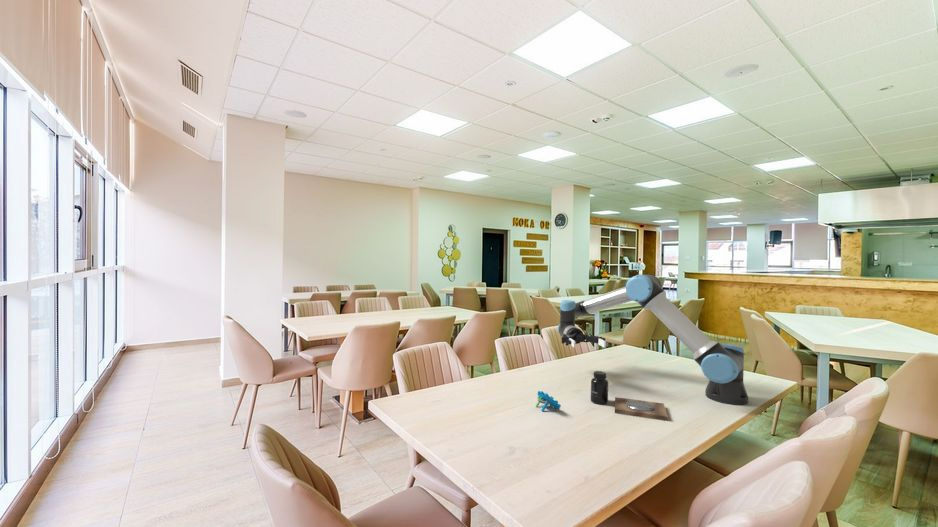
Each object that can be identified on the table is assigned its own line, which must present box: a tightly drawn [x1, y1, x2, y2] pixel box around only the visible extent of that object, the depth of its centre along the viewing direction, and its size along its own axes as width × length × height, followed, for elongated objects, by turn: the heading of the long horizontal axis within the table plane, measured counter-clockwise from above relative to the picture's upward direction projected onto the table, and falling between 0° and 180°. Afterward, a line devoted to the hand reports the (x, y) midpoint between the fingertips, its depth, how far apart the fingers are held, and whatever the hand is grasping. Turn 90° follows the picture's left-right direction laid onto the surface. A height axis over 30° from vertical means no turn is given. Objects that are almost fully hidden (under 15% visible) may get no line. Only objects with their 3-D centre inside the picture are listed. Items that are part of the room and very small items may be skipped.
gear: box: [535, 390, 561, 412], centre depth 148 cm, size 11×6×10 cm
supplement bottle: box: [590, 370, 609, 406], centre depth 157 cm, size 7×7×12 cm
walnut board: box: [614, 396, 669, 422], centre depth 149 cm, size 18×14×2 cm
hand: (590, 344), depth 167 cm, fingers open, 13 cm apart
